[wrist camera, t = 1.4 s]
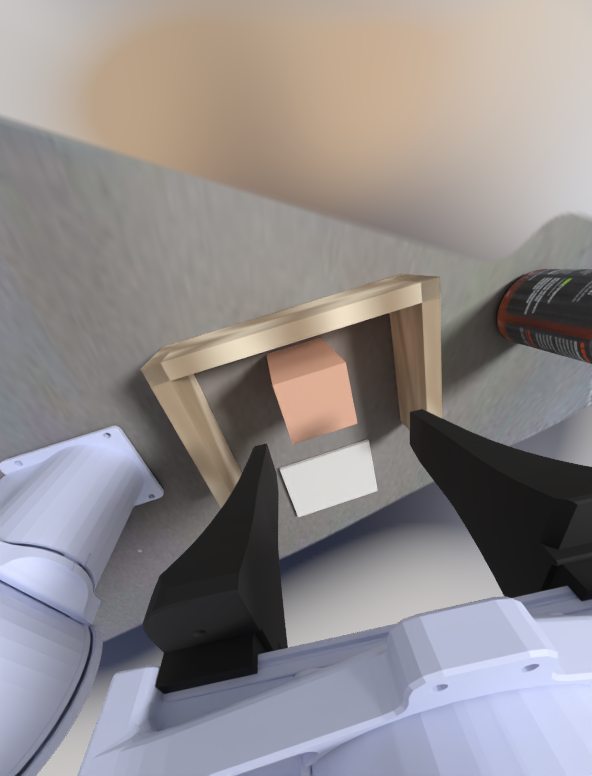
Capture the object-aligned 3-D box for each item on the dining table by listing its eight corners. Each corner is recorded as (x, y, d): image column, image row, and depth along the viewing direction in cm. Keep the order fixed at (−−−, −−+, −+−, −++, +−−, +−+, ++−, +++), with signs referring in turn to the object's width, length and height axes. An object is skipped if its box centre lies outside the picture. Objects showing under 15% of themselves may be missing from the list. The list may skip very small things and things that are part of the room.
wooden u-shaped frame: (229, 476, 25) (225, 517, 21) (162, 347, 19) (140, 369, 15) (412, 416, 26) (442, 445, 22) (401, 273, 20) (439, 276, 16)
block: (282, 402, 23) (292, 444, 18) (266, 354, 21) (272, 385, 16) (331, 386, 23) (357, 423, 18) (320, 337, 21) (345, 362, 16)
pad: (297, 514, 29) (298, 517, 29) (279, 467, 26) (279, 470, 26) (376, 488, 29) (377, 490, 29) (367, 439, 26) (368, 441, 26)
